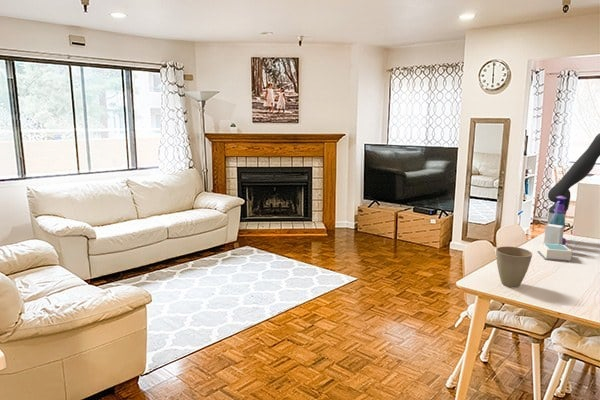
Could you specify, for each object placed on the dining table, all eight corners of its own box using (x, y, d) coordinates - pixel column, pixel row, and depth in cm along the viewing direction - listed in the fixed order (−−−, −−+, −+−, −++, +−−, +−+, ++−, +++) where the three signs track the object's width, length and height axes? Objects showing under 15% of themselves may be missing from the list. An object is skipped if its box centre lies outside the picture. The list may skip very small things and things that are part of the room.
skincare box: (561, 251, 256) (565, 225, 253) (558, 253, 252) (561, 227, 249) (545, 247, 262) (549, 223, 259) (542, 249, 258) (545, 224, 255)
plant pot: (497, 276, 215) (501, 244, 211) (531, 284, 205) (536, 250, 202) (488, 285, 203) (491, 251, 200) (523, 293, 194) (527, 258, 191)
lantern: (549, 240, 276) (555, 193, 270) (569, 245, 267) (576, 196, 261) (539, 244, 268) (546, 195, 262) (560, 249, 259) (567, 198, 253)
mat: (537, 252, 253) (537, 251, 253) (559, 253, 251) (559, 252, 251) (545, 259, 240) (545, 258, 240) (568, 261, 238) (568, 260, 237)
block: (563, 253, 249) (539, 251, 252) (564, 244, 248) (540, 242, 251) (570, 260, 238) (546, 258, 241) (572, 251, 237) (547, 249, 240)
